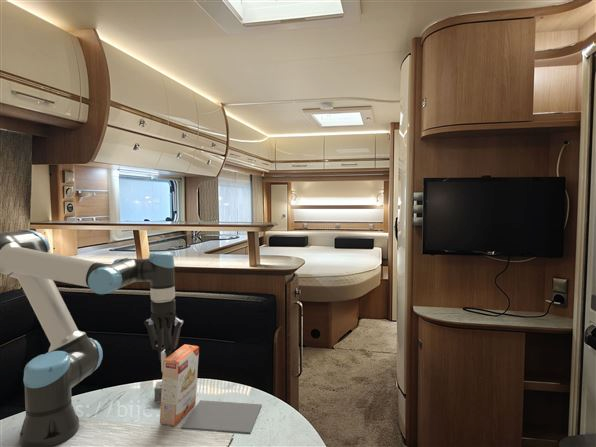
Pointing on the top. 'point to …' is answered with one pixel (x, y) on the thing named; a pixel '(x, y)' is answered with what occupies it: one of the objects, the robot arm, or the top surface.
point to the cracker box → (179, 384)
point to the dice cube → (158, 391)
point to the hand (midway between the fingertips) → (165, 370)
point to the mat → (223, 416)
